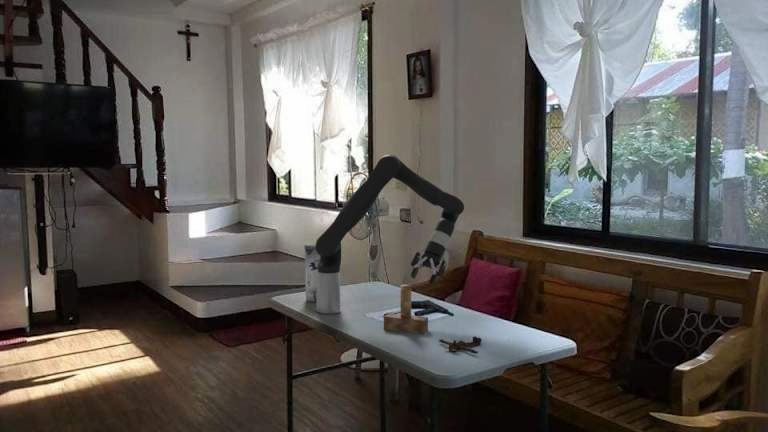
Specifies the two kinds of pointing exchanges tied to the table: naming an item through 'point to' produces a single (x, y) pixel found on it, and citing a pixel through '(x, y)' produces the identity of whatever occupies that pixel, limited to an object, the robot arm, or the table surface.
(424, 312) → the gun
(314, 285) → the juice carton
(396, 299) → the table surface
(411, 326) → the walnut rail
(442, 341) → the brown toy figure
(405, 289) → the oak post
